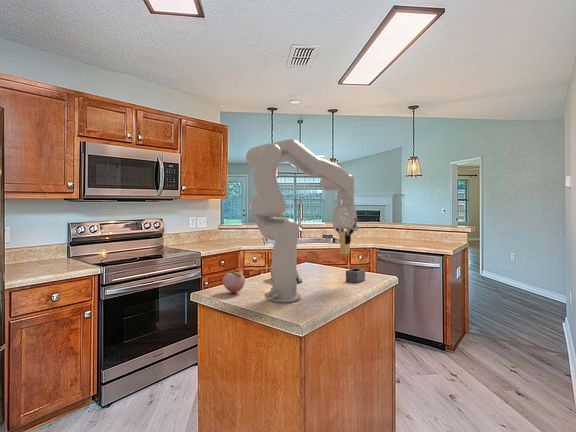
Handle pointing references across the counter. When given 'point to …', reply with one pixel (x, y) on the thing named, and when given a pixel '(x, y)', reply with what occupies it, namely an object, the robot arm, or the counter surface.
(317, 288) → the counter surface
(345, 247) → the tan rectangular block
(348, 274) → the dark grey open box
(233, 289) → the decorative fruit
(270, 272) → the hinge
